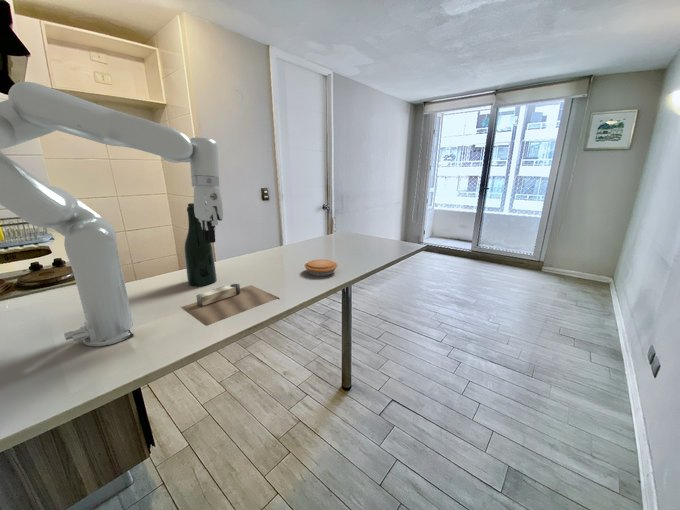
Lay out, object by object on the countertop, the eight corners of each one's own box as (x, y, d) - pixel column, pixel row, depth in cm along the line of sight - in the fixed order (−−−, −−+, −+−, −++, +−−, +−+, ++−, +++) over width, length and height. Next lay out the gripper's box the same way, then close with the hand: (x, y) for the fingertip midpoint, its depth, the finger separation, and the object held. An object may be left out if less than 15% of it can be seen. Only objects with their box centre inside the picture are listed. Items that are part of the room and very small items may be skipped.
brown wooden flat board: (206, 330, 80) (204, 316, 79) (181, 311, 92) (179, 298, 90) (279, 301, 99) (279, 289, 98) (251, 288, 111) (250, 278, 109)
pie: (300, 269, 134) (299, 259, 133) (329, 265, 141) (329, 256, 140) (310, 280, 121) (310, 269, 120) (343, 275, 127) (343, 264, 126)
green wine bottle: (205, 279, 120) (195, 201, 111) (222, 283, 116) (214, 202, 107) (182, 287, 111) (170, 203, 102) (201, 292, 107) (189, 205, 98)
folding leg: (200, 306, 91) (198, 297, 90) (195, 304, 93) (194, 294, 92) (241, 292, 102) (241, 284, 101) (237, 290, 104) (236, 282, 103)
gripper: (230, 183, 82) (232, 245, 86) (207, 182, 91) (210, 237, 95) (203, 182, 76) (207, 248, 80) (182, 181, 85) (187, 239, 90)
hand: (209, 242), depth 88 cm, fingers closed
